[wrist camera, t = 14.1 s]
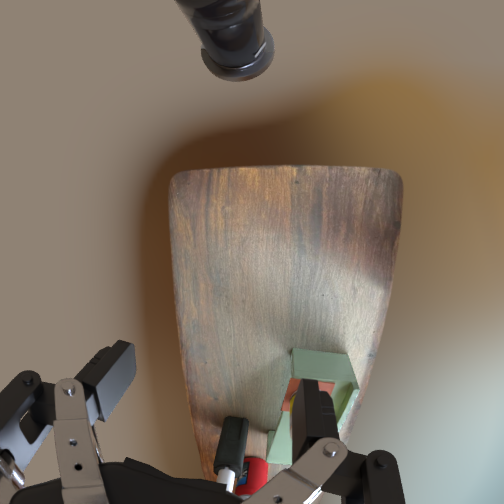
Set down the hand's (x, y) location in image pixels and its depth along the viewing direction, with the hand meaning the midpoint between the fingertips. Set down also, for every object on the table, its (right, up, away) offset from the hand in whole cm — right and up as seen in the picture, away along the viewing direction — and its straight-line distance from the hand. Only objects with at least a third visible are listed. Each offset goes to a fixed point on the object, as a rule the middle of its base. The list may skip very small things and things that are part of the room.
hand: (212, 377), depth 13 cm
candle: (-1, -30, +41) cm, 51 cm away
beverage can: (+2, -45, +44) cm, 63 cm away
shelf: (+12, -23, +38) cm, 46 cm away
